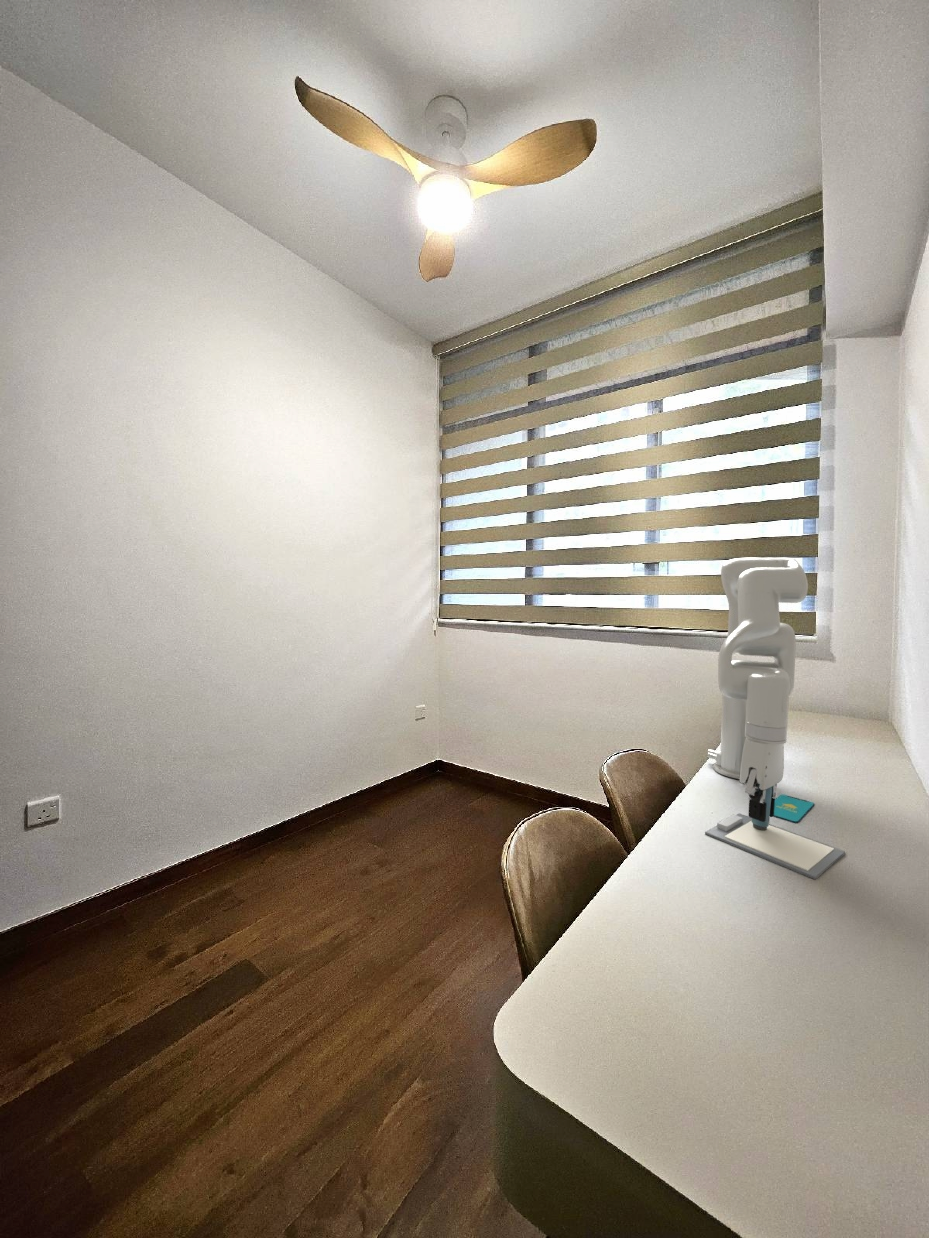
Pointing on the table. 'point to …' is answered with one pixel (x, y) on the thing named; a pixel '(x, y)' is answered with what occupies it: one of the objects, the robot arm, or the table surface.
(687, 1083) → the table surface
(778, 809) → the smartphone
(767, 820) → the bottle
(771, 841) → the clipboard
